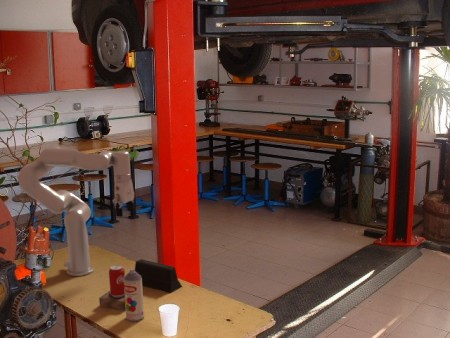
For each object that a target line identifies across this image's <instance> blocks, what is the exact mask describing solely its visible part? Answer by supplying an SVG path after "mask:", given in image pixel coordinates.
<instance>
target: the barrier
mask: <svg viewBox="0 0 450 338" xmlns="http://www.w3.org/2000/svg"><path fill="white" fill-rule="evenodd" d="M134 270H135V272H137V273H138V274H140V275H141V278H142V287H145V288H148V289H151V290H156V291H160V292H163V293H168V294H172V293H174V292H176V291H177V290H179V289H181V288H183V285H182V283H181V281H180V280H179V279H178V274H177V271H176V267H175V266H172V265H169V264H164V263H159V262H155V261H149V260H145V259H143V258H141V259H139V260H137V261H135V264H134Z"/></svg>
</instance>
